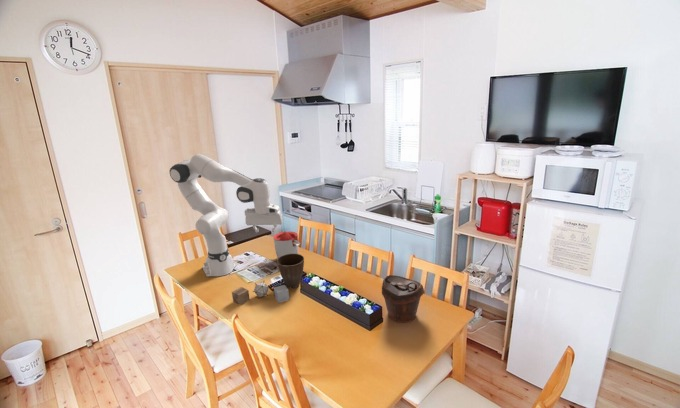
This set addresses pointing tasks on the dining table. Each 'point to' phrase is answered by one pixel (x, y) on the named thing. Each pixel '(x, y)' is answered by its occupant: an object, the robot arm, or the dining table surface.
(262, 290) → the grey spiky ball
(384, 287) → the dark brown lidded bucket
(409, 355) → the dining table surface
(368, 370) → the dining table surface
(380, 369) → the dining table surface
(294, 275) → the plant pot
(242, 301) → the walnut block
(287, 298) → the grey block
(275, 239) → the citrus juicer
